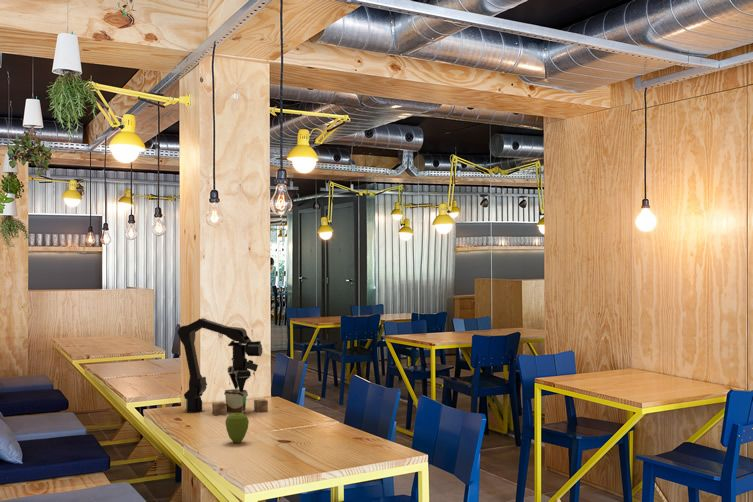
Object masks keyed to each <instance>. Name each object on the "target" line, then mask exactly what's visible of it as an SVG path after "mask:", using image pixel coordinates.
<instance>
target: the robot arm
mask: <svg viewBox="0 0 753 502" xmlns="http://www.w3.org/2000/svg"><path fill="white" fill-rule="evenodd" d="M202 329H205V330H208V331H211V332H215V333H217V334H221V335H224V336H226V338H228V339H230V340H231V341H230V342H229V343H228V345H227V346H228V347H232V357H231V361H232V365H230V366H228V367H227V373H228V375H229V378H230V380H231V383H232V385H233V387H234V389H239V390H240V392H243V390H245V384H246V381H247V380H248V379H250V377H251V376H252V375H251V374H252V373H251V371H253V372H257V370H258V367H259V366H258V365H259V364H257V363H254V361H253V360H251V359H247V357H261V356H262V355H263V347H262V345H263V344H262V342H261V340H257V341H252V340H251V339H250V337H249V336H248V333H247V330H246V329H245V327H244V328H243V327H238V326H237V327H236V326H227V325H225V324H221V323H218V322H215V321H212V320H210V319H209V320H208V319H207V318H203V317H202V318H198V319H197V320H195V321H194V322H191V323H189V324H186V325H182V326H180V327H179V328H178V330H177V335H178V338H179V340H180V342H181V343H182V345H183V347H184V351H185V357H186V363H187V368H188V372H189V381H188V390H187V391H186V392H185V393H184V394H183V397H184V399H185V411H186V413H200V412H203V400H202V397H203V394H204V392H205V391H206V390H207V386H208V382H207V378H206V376H202V374H201V372H200V365H199V360H198V356H197V352H196V350H197V349H196V347H195V341H196V332H198V331H200V330H202ZM246 355H247V357H246ZM250 370H251V371H250Z"/></svg>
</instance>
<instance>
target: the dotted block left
mask: <svg viewBox="0 0 753 502" xmlns="http://www.w3.org/2000/svg"><path fill="white" fill-rule="evenodd" d="M211 408H212V410H211V411H212V412H211V414H212V415H213V416H215V417H216V416H226V414H227V413H226V402H224V401H217V402H212V407H211Z"/></svg>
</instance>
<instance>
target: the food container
mask: <svg viewBox="0 0 753 502" xmlns="http://www.w3.org/2000/svg"><path fill="white" fill-rule="evenodd" d="M224 395H225V397H224V398H225V403H226V414H227V413H228V414H232V413H237V412H238V413H244V414H245V415H246V404H247V397H249V393H248V390H246V389H243V392H240V390H239V388H238V389H235V388H233V389H232V388H231V389H225V390H224Z"/></svg>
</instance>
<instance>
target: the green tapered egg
mask: <svg viewBox="0 0 753 502" xmlns="http://www.w3.org/2000/svg"><path fill="white" fill-rule="evenodd" d="M249 423H250V421H249V417H248V416H247V415H246V413H245V414H244V413H238V412H237V413H229V415H228V416H227V417H226V419H225V423H224V424H225V427H226V431H227V434H228V437H229V439H230V440H231V441H232V442H233V443H238V444H239V443H242V442H243V440H244V438H245V437H246V434H247V431H248V430H249V429H248V428H249Z"/></svg>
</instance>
